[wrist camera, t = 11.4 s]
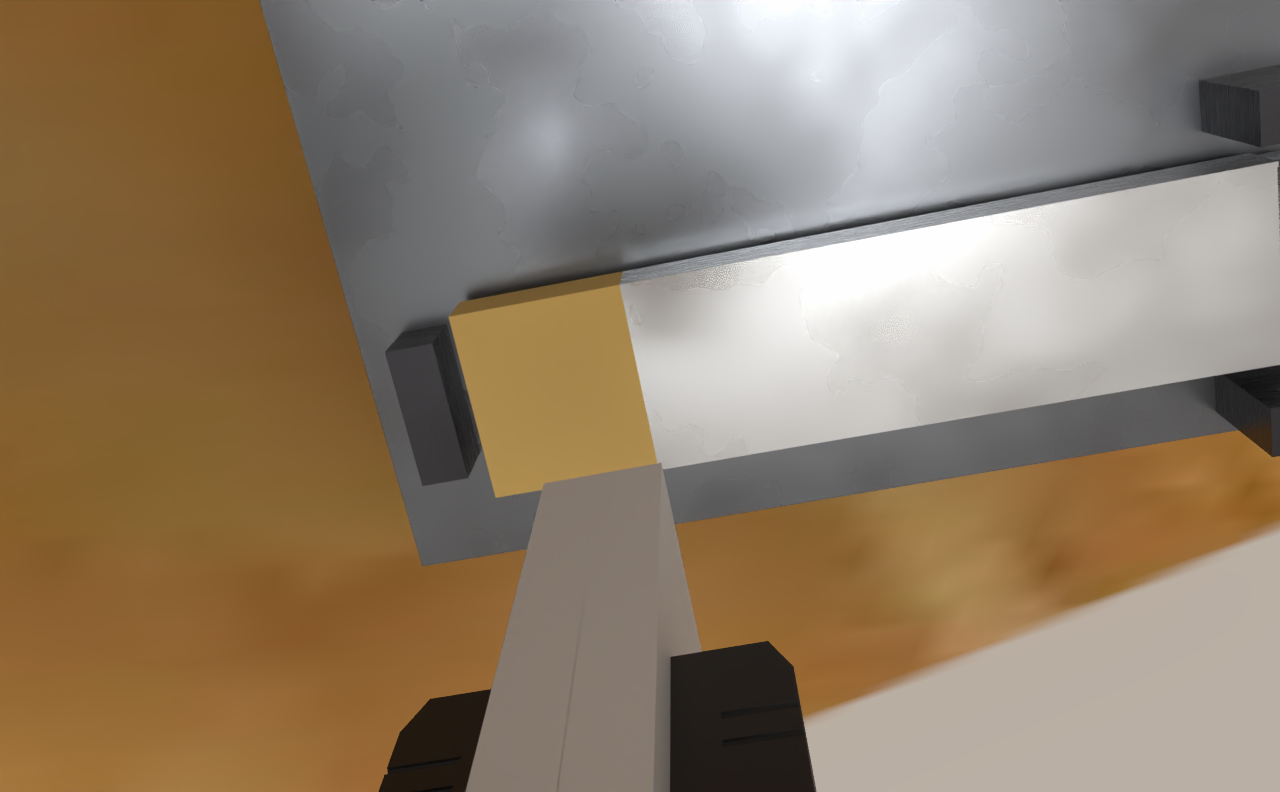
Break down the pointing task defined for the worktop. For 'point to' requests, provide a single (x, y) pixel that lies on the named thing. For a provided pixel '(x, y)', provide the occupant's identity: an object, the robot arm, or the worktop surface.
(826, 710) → the worktop surface
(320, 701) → the worktop surface
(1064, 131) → the clamp block
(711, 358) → the strap
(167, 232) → the worktop surface
